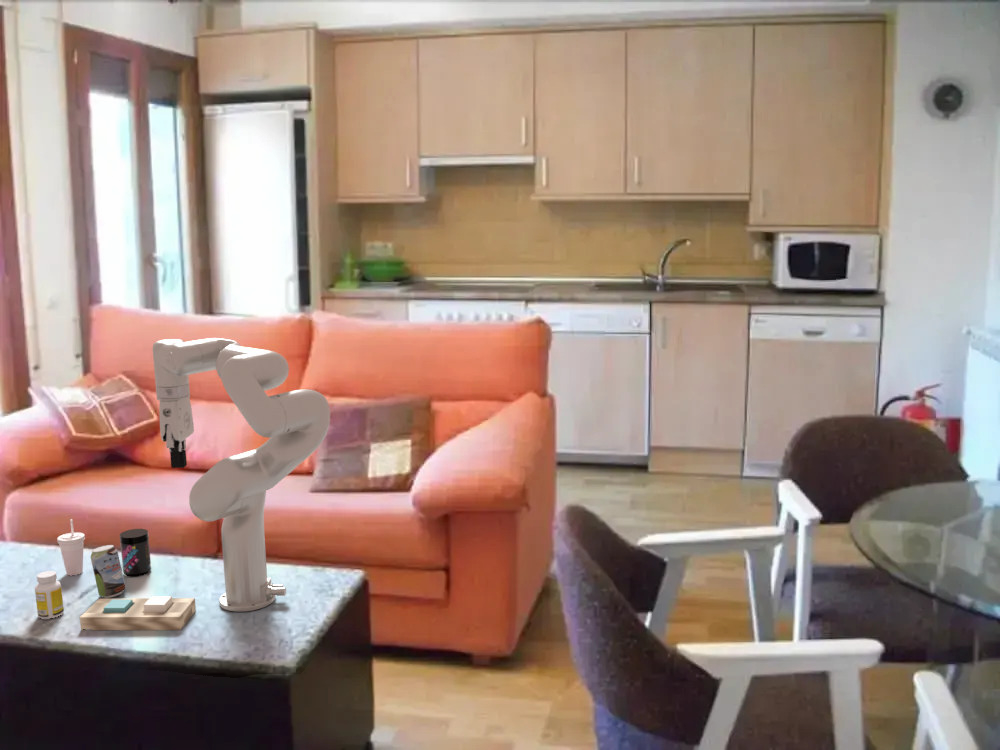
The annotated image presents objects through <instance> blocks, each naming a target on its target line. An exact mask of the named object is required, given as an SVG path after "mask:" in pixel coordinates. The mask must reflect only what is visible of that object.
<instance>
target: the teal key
mask: <svg viewBox="0 0 1000 750" xmlns="http://www.w3.org/2000/svg"><path fill="white" fill-rule="evenodd" d="M117 599H118V600H111V601H110V602H109V603H108V604H107V605H106V606H105V607H104V613H126V612H127V611H128V610H129V609H130V608H131V607H132V605H133V600H132V599H128V598H117Z"/></svg>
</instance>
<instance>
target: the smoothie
mask: <svg viewBox="0 0 1000 750" xmlns="http://www.w3.org/2000/svg"><path fill="white" fill-rule="evenodd" d="M69 521H70V522H69V523H70V531H71V532H67V533H64V534H63V533H62V535H61V534H60V535H59V536H58V537H57V538H56V539H57V544H59V548H60V549H59V550H60V552H61V556H62V557H61V558H62V560H63V565H64V568H65V572H66V575H67V576H68V575H70V576H71V577H72V575H75V576H78V575H77V574H79V575H81V574H82V573H83V572H84V571H83V570H84V569H83V568H84V545H85V544H84V541H85V540H86V535H85V533H83V532H80V531H79V532H75V531H74V520H73V518H71V519H69ZM80 573H81V574H80Z"/></svg>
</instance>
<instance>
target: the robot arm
mask: <svg viewBox="0 0 1000 750" xmlns="http://www.w3.org/2000/svg"><path fill="white" fill-rule="evenodd" d="M152 357H153V359H152V360H153V368H154V369H153V370H154V371H153V372H154V381H155V395H156V400H157V401H159V404H158V406H159V407H158V408H159V410H158V411H159V412H158V413H159V430H160V431H159V432H160V438H161V441H162V442H163V443H165V442H166V444H165V446H166V448H167V449H168V450H169V455H170V456H169V457H170V465H171V466H170V467H171V468H172V469H184V468H185V467H186V466H187V465H188V462H187V461H188V460H187V449H186V448H187V444H186V443H187V440H186V439H188V438H189V437H191V435H193V433H194V432H195V425H194V419H193V418H194V416H193V411H192V404H191V401H190V400H191V399H190V397H191V392H190V391H191V390H190V379H189V376H191V375H195V374H200V373H204V372H210V371H216V372H217V375H218V377H219V378H220V379H221V382H222V385H223V387H224V389H225V391H226V393H227V395H228V396H229V397H230V399H231V400H232V403H233V404H234V405H235V407H237V409H238V411H240V414H241V415H242V416H243V418H244V419H245V421H246V422H247V423H248V425H249V426H250V429H252V430H253V432H255V433H256V434H257V435H259V436H260V437H263V438H268V440H266V441H265V442H264V443H263V444H261V445H259V447H257V448H255V449H251V450H247V451H244V452H241V453H237V454H234V455H231V456H227V457H225V458H222V459H221V460H219V461H218V462H216V463H215V464H214V465H213V466H212V467H211V468H209V469H208V471H206V472H205V473H204V474H203V475H202V476H201V477H200V478H199V479H198V480H196V481H195V483H194V484H193V485H192V487H191V490H190V492H189V497H188V503H189V507H190V510H191V512H192V514H193V515H194V516H195V517H196V518H197V519H198V520H199V519H200V520H201V521H204V522H214V521H218V520H221V519H223V521H222V523H221V524H222V525H221V534H220V535H221V545H222V549H221V550H222V558H223V560H222V561H223V572H224V573H223V575H224V587H225V589H224V590H225V593H223V594H222V595H221V596H220V597H219V599H218V600H219V601H218V602H219V606H220V607H221V608H222V609H223V610H226V611H229V612H237V613H239V612H251V611H256V610H259V609H263V608H266V607H268V606H269V605H271V604H272V603H273V602H274V601H275V599H276V596H282V597H283V596H284V597H285V596H286V594H287V588H286V586H285V587H284V583H283V584H282V583H279V584H278V583H277V584H274V583H272V578H271V577H268V570H267V555H266V553H267V552H266V540H265V519H264V518H265V517H264V514H265V503H266V496H267V491H269V490H270V489H273V488H274V487H275V486H277V485H278V484H279V483H280V482H281V481H282V480H283V479H284V478H286V477H287V476H288V475H289V474H290V473H292V472H293V471H294V470H295V469H296V468H297V467H298V466H299V465H301V464H302V463H303V462H304V461H305V460H306V459H309V457H310V456H311V455H312V454H313V453H315V452H316V450H317V449H318V448H319V447H320V446H321V444H322V443H323V441H324V440H325V438H326V436H327V433H328V430H329V427H330V423H331V410H330V409H331V408H330V405H329V402H328V400H327V398H326V397H325V395H323V394H322V393H321V392H319V391H317V390H314V389H310V388H309V389H307V388H306V389H304V388H302V389H295V390H290V391H284V392H282V393H277V394H273V395H268V394H267V393H266V392H265V391H270V390H273V389H276V388H277V387H280V386H281V385H283V384H284V383H285V381H286V380H287V378H288V376H289V372H290V368H289V363H288V360H287V359H286V358H285V357H284V356H283V355H282V354H280V353H278V352H276V351H273V350H269V349H262V348H255V347H249V346H242V345H241V344H240V343H239V342H237V341H236V340H232V339H226V338H219V337H218V338H217V337H212V338H211V337H209V338H203V339H202V338H201V339H196V340H189V341H184V340H183V339H179V338H168V339H161V340H157V341H155V342H154V343H153V344H152Z"/></svg>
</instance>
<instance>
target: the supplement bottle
mask: <svg viewBox="0 0 1000 750" xmlns="http://www.w3.org/2000/svg"><path fill="white" fill-rule="evenodd" d="M36 581H37V584H36V585H35V587H34V593H35V602H36V610H37V616H38V618H39V619H40V618H41V620H51V619H50V618H53V619H55V617H56V618H58V616H59V617H61V616H63V614H64V613H65V610H64V609H65V608H64V600H63V592H62V585H61V584H62V583H61V582H60V581H59V580H57V572H56V571H55V570H47V571H43V572H40V573H38V574H37V575H36ZM60 615H61V616H60Z"/></svg>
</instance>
